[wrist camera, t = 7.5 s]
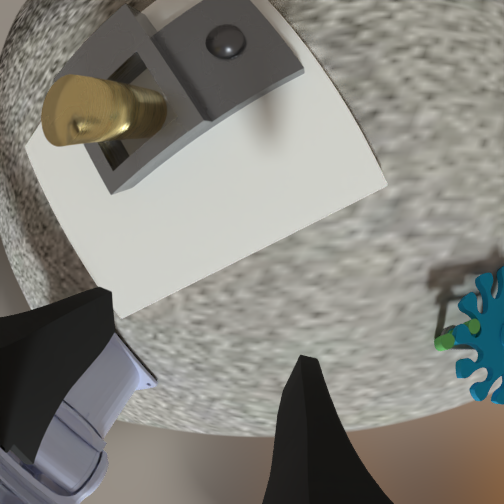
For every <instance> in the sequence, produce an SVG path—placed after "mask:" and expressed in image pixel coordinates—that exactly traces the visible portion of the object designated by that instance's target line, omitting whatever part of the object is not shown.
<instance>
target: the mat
mask: <svg viewBox="0 0 504 504" xmlns="http://www.w3.org/2000/svg"><path fill="white" fill-rule="evenodd" d="M201 1H203V0H156V1H154V2H153V3H152V4H151V5H149V6H148V7H147V8H145V9H144V10H143V11H142V12H141V13H143V14H145V15H146V17H147V18H148V19H149V21H150V22H151V24H152V25H153V26H154V28H155V29H156V30H157V32H158V31H159V30H161V29H162V28H163V27H165V26H166V25H167V24H169V23H170V22H171V21H173V20H174V19H176V18H177V17H178V16H180V15H181V14H183V13H184V12H186V11H187V10H189V9H190V8H192V7H193V6H195V5H196V4H198V3H199V2H201ZM250 1H251V2H252V3H253V4H254V5H255V6H256V7H257V9H258V10H259V11H260V12H261V13H262V14H263V15H264V17H265V18H266V19H267V20H268V21H269V22H270V24H271V25H272V26H273V27H274V28H275V30H276V31H277V32H278V33H279V35H280V36H281V37H282V38H283V40H284V41H285V42H286V44H287V45H288V46H289V48H290V49H291V50H292V52H293V53H294V54H295V56H296V57H297V58H298V60H299V61H300V62H301V64H302V65H303V67H304V71H305V73H304V74H302V75H300V76H298V77H297V78H295V79H293V80H291V81H289V82H287V83H285V84H283V85H281V86H280V87H278V88H276V89H274V90H272V91H271V92H269V93H267V94H265V95H264V96H262V97H260V98H259V99H257V100H255V101H253V102H252V103H250V104H248V105H247V106H245V107H244V108H242V109H240V110H239V111H237V112H235V113H234V114H232V115H231V116H229V117H228V118H226V119H225V120H223V121H221V122H220V123H218V124H217V125H215V126H214V127H212V128H211V129H209V130H208V131H207V132H205V133H204V134H202V135H201V136H199V137H198V138H196V139H195V140H194V141H192V142H191V143H189V144H188V145H187V146H185V147H184V148H183V149H181V150H180V151H179V152H177V153H176V154H175V155H173V156H172V157H171V158H169V159H168V160H167V161H165V162H164V163H163V164H161V165H160V166H159V167H158V168H156V169H155V170H154V171H153V172H151V173H150V174H149V175H148V176H146V177H145V178H144V179H143V180H142V181H140V182H139V183H138V184H137V185H136V186H134V187H133V188H130V189H127V190H125V191H122V192H119V193H116V194H113V195H111V194H110V193H109V191H108V189H107V187H106V186H105V184H104V182H103V180H102V178H101V177H100V175H99V173H98V171H97V169H96V167H95V165H94V164H93V162H92V160H91V158H90V156H89V154H88V152H87V150H86V148H85V146H84V144H76V145H68V146H61V147H57V146H54V145H52V144H51V143H49V142H48V140H47V139H46V137H45V135H44V133H43V129H42V122H41V123H40V124H39V126H38V127H37V129H36V130H35V132H34V133H33V135H32V137H31V138H30V140H29V141H28V143H27V145H26V146H25V149H26V152H27V154H28V157H29V159H30V162H31V164H32V167H33V169H34V171H35V174H36V176H37V178H38V180H39V183H40V185H41V187H42V189H43V191H44V193H45V195H46V198H47V200H48V202H49V204H50V206H51V208H52V210H53V212H54V213H55V215H56V217H57V219H58V221H59V223H60V225H61V227H62V229H63V230H64V232H65V234H66V236H67V237H68V239H69V241H70V243H71V244H72V246H73V248H74V250H75V251H76V253H77V255H78V256H79V258H80V259H81V261H82V263H83V264H84V266H85V267H86V269H87V271H88V272H89V274H90V275H91V277H92V278H93V280H94V281H95V283H96V284H97V286H98V287H102V288H104V289H107V290H109V291H111V292H112V299H113V309H114V310H115V311H116V313H117V314H118V316H119V317H120V318H121V319H122V318H124V317H126V316H128V315H130V314H132V313H134V312H136V311H138V310H140V309H142V308H144V307H146V306H148V305H150V304H152V303H154V302H157V301H159V300H161V299H163V298H165V297H167V296H169V295H171V294H173V293H175V292H177V291H179V290H181V289H183V288H185V287H187V286H189V285H191V284H193V283H195V282H197V281H199V280H201V279H203V278H205V277H207V276H209V275H211V274H213V273H215V272H217V271H219V270H221V269H223V268H225V267H227V266H229V265H231V264H233V263H235V262H237V261H239V260H241V259H243V258H245V257H247V256H249V255H251V254H253V253H255V252H257V251H259V250H261V249H263V248H265V247H267V246H269V245H271V244H273V243H275V242H277V241H279V240H281V239H283V238H285V237H287V236H289V235H291V234H293V233H295V232H297V231H299V230H301V229H303V228H305V227H306V226H308V225H310V224H312V223H314V222H316V221H318V220H320V219H322V218H324V217H326V216H328V215H330V214H332V213H334V212H336V211H338V210H340V209H342V208H344V207H346V206H348V205H350V204H352V203H354V202H356V201H358V200H360V199H362V198H364V197H366V196H368V195H370V194H372V193H374V192H376V191H378V190H380V189H382V188H384V187H386V186H388V184H387V182H386V180H385V177H384V175H383V173H382V171H381V169H380V167H379V165H378V163H377V161H376V159H375V157H374V155H373V153H372V151H371V149H370V147H369V145H368V143H367V141H366V139H365V137H364V135H363V134H362V132H361V130H360V128H359V126H358V125H357V123H356V121H355V119H354V118H353V116H352V114H351V112H350V111H349V109H348V107H347V106H346V104H345V102H344V101H343V99H342V98H341V96H340V94H339V93H338V91H337V90H336V88H335V86H334V85H333V83H332V82H331V80H330V79H329V77H328V76H327V74H326V73H325V71H324V70H323V69H322V67H321V66H320V64H319V63H318V61H317V60H316V59H315V57H314V56H313V55H312V53H311V52H310V50H309V49H308V48H307V46H306V45H305V44H304V43H303V41H302V40H301V39H300V37H299V36H298V35H297V34H296V32H295V31H294V30H293V29H292V27H291V26H290V25H289V24H288V23H287V21H286V20H285V19H284V18H283V17H282V15H281V14H280V13H279V12H278V11H277V10H276V9H275V7H274V6H273V5H272V4H271V3H270V2H269V1H268V0H250ZM130 85H135V86H139V87H143V88H148V89H152V90H155V91H157V92H159V93H160V94H161V95H162V96H163V97H164V99H165V102H166V105H167V116H166V120H165V122H164V124H163V126H162V127H161V129H162V128H164V127H165V126H166V125H167V124H169V123H170V122H171V121H172V120H174V119H175V118H176V117H178V116H177V114H176V113H175V111H174V110H173V108H172V106H171V105H170V103H169V102H168V100H167V98H166V97H165V95H164V94H163V92H162V90H161V89H160V87H159V86H158V84H157V82H156V81H155V79H154V78H153V76H152V75H151V73H150V71H149V70H148V68H147V69H146V70H145V71H143V72H142V73H141V74H140V75H139V76H138V77H137V78H135V79H134V80H133V81H132V82H131V83H130ZM161 129H160V130H161ZM160 130H159V131H160ZM159 131H158V132H159ZM154 135H155V134H154ZM154 135H153V136H154ZM153 136H151V137H153ZM151 137H148V138H142V139H126V140H121V142H122V144H123V145H124V147H125V149H126V151H127V152H128V154H129V156H131V155H132V154H133V153H134V152H135V151H136V150H137V149H138V148H140V147H141V146H142V145H143V144H144V143H145V142H147V141H148V140H149V139H150V138H151Z"/></svg>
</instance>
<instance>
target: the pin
mask: <svg viewBox="0 0 504 504" xmlns="http://www.w3.org/2000/svg"><path fill="white" fill-rule="evenodd" d="M166 116H167V105H166V102H165V99H164V97H163V96H162V95H161V94H160V93H159V92H157V91H155V90H152V89H148V88H143V87H139V86H135V85H130V84H125V83H121V82H116V81H111V80H105V79H100V78H94V77H87V76H81V75H73V74H69V75H65V76H63V77H61V78H59V79H58V80H57V81H56V82H55V83H54V84H53V85H52V87H51V88H50V90H49V91H48V93H47V95H46V98H45V100H44V104H43V108H42V115H41V122H42V129H43V133H44V135H45V137H46V139H47V140H48V142H49V143H51V144H52V145H54V146H57V147H61V146H68V145H76V144H84V143H92V142H102V141H113V140H126V139H142V138H148V137H151V136H153V135H154V134H156V133H157V132H158V131H159V130H160V129H161V127H162V126H163V124H164V122H165V120H166Z"/></svg>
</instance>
